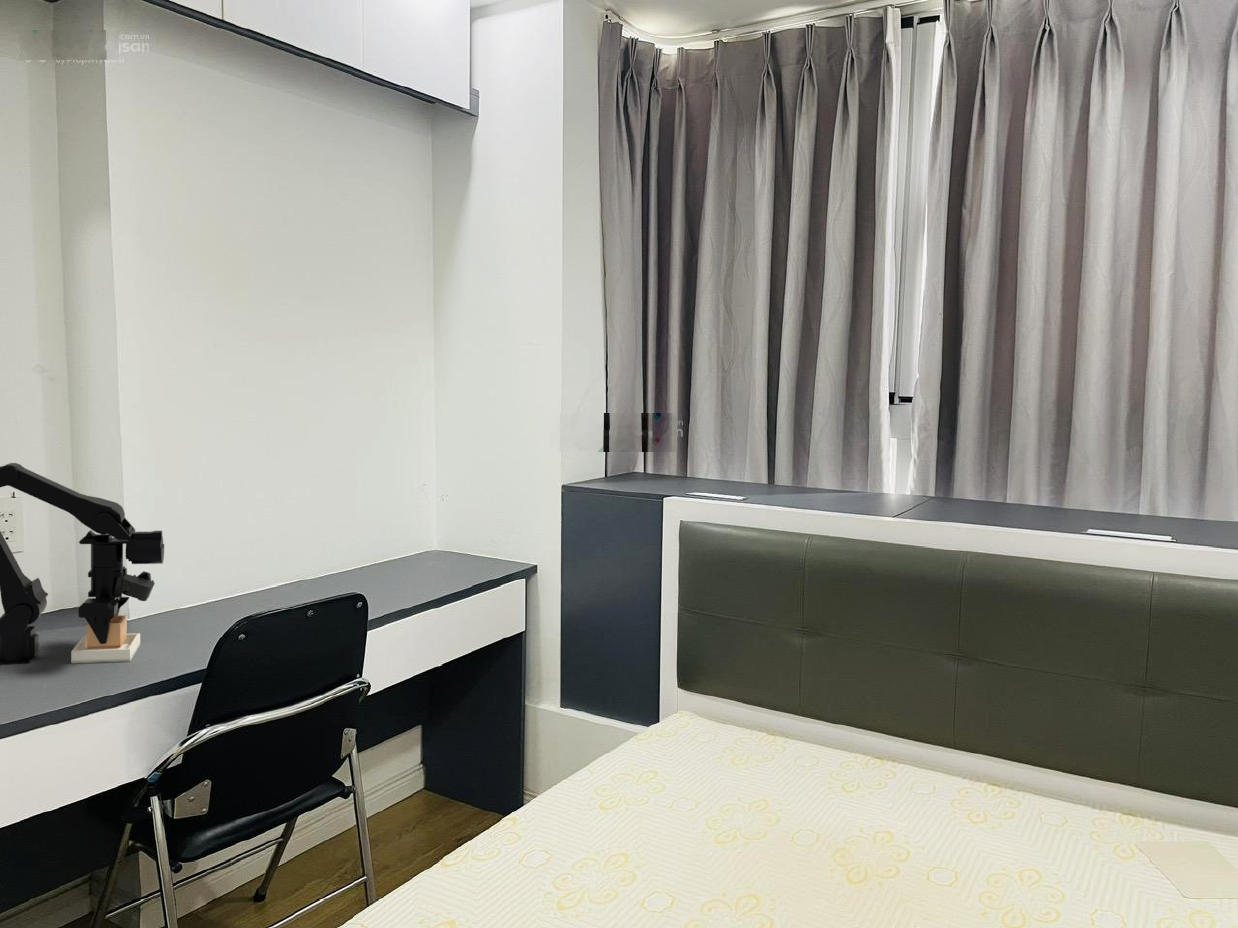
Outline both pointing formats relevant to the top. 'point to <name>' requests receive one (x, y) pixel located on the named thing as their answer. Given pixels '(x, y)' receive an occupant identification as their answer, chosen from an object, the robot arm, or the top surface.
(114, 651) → the cream square tray
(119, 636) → the small crate
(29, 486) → the robot arm
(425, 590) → the top surface
